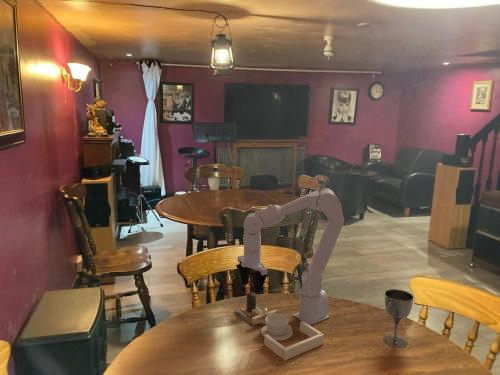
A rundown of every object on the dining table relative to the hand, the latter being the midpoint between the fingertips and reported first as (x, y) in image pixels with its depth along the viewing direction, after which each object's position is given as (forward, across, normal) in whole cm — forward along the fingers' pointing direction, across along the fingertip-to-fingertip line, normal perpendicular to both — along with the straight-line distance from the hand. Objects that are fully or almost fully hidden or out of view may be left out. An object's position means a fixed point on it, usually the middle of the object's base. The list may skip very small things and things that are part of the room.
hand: (251, 288), depth 136 cm
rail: (+9, +2, 0) cm, 10 cm away
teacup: (+10, +14, 0) cm, 17 cm away
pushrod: (+9, +3, 0) cm, 10 cm away
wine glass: (+10, +38, +27) cm, 48 cm away
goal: (+9, +22, 0) cm, 24 cm away
